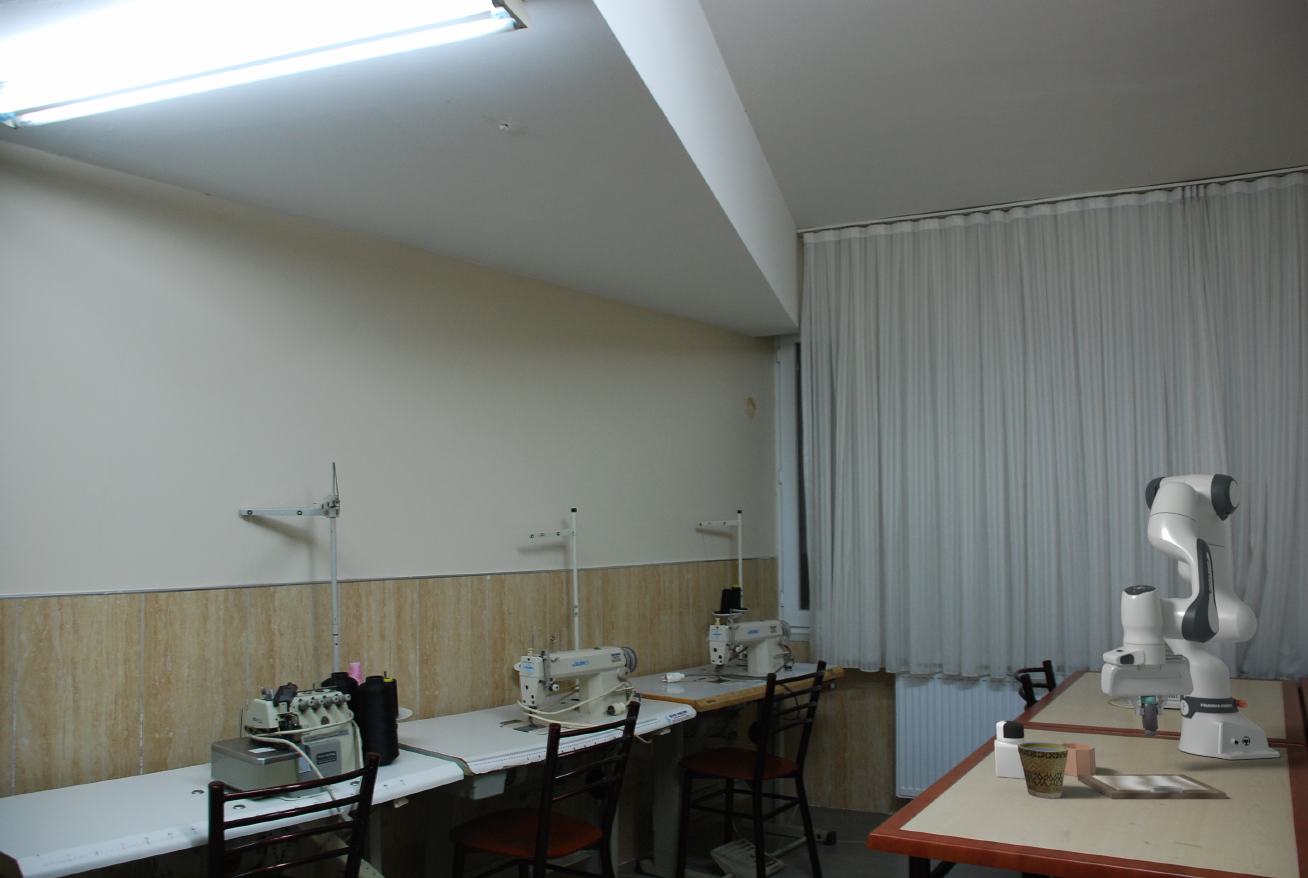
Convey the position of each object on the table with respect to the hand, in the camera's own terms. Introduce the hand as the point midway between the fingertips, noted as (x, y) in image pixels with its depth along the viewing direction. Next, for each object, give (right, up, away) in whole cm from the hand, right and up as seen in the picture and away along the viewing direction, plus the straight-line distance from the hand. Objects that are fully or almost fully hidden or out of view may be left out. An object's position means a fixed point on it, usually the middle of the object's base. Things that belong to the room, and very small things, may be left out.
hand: (1149, 714), depth 218 cm
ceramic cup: (-34, -12, -19) cm, 40 cm away
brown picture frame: (-9, -12, -16) cm, 21 cm away
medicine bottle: (-33, -13, -3) cm, 36 cm away
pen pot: (-17, -13, -1) cm, 22 cm away
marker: (0, -5, -1) cm, 4 cm away
